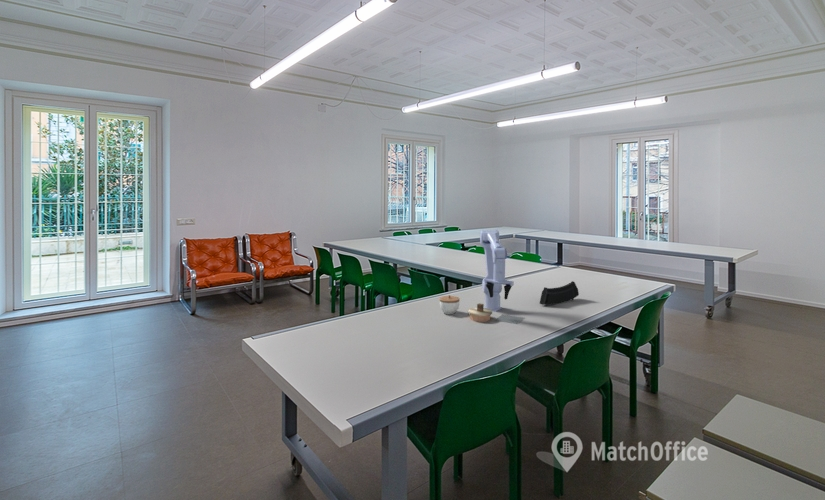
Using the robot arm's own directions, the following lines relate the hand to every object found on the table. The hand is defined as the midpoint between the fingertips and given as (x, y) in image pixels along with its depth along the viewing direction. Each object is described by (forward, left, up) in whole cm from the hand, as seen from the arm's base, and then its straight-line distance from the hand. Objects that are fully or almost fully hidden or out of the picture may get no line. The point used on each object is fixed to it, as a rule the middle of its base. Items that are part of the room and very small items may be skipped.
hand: (498, 298), depth 217 cm
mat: (0, +6, -10) cm, 12 cm away
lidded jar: (+4, -26, -11) cm, 28 cm away
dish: (+7, -7, -10) cm, 14 cm away
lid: (+7, -7, -7) cm, 12 cm away
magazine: (-48, +19, -11) cm, 52 cm away
